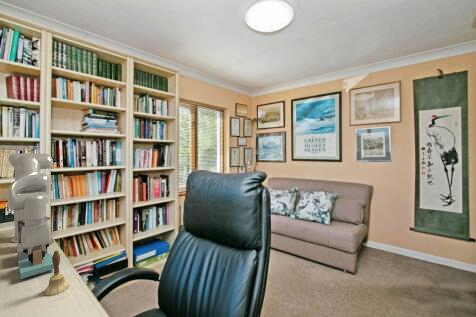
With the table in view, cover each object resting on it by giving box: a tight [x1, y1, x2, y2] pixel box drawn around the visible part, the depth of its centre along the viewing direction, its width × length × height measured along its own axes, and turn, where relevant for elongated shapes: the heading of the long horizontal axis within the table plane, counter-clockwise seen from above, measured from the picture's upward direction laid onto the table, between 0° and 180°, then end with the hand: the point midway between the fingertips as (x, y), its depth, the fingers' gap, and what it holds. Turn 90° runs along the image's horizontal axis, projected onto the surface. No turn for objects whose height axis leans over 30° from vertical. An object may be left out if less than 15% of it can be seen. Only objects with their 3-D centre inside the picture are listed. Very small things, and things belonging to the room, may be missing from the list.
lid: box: [17, 247, 54, 280], centre depth 105 cm, size 15×12×8 cm
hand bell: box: [42, 250, 70, 297], centre depth 91 cm, size 8×8×16 cm
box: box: [16, 242, 49, 262], centre depth 117 cm, size 14×10×7 cm
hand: (36, 259), depth 105 cm, fingers closed on lid, 3 cm apart
